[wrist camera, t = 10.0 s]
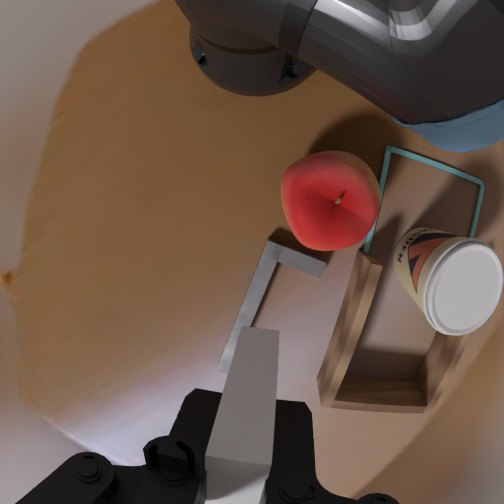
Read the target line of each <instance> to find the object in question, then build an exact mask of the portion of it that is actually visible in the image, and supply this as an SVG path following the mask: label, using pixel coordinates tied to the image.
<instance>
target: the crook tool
mask: <svg viewBox="0 0 504 504" xmlns="http://www.w3.org/2000/svg"><path fill="white" fill-rule="evenodd" d="M277 262H280V263H282V264H285V265H288V266H290V267H293V268H296V269H298V270H301V271H303V272H306V273H309V274H311V275H314V276H316V277H319V278H320V277H321V275H322V272H323V270H324V268H325V266H326V261H325V259H323V258H320V257H318V256H315V255H312V254H310V253H307V252H305V251H302V250H300V249H297V248H295V247H292V246H289V245H287V244H284V243H282V242H279V241H276V240H274V239H271V238H269V237H268V239H267V242H266V244H265V247H264V250H263V252H262V255H261V257H260V260H259V262H258V265H257V267H256V270H255V272H254V275H253V277H252V280H251V283H250V285H249V288H248V290H247V293H246V295H245V298H244V300H243V303H242V305H241V308H240V310H239V313H238V315H237V318H236V320H235V323H234V325H233V328H232V330H231V333H230V335H229V338H228V340H227V343H226V345H225V348H224V350H223V353H222V355H221V358H220V360H219V363H218V366H217V369H216V370H219V371H221V372H224V373H227V374H228V373H229V369H230V366H231V362H232V358H233V355H234V351H235V348H236V344H237V340H238V337H239V333H240V330H241V326H246V327H250V326H251V323H252V321H253V319H254V316H255V314H256V311H257V309H258V307H259V304H260V302H261V300H262V297H263V295H264V292H265V290H266V288H267V285H268V283H269V280H270V278H271V275H272V273H273V271H274V268H275V266H276V263H277Z"/></svg>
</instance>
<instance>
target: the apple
mask: <svg viewBox="0 0 504 504" xmlns="http://www.w3.org/2000/svg"><path fill="white" fill-rule="evenodd" d="M281 199H282V205H283V209H284V213H285V217H286V219H287V222H288V225H289V227H290V229H291V231H292V233H293V234H294V236H295V237H296V238H297V239H298V241H299V242H300V243H301V244H303V245H304V246H306V247H308V248H311V249H315V250H321V251H333V250H338V249H343V248H346V247H350V246H352V245H355V244H357V243H358V242H360V241H361V240H363V239H364V238H365V237H366V235H367V234H368V233H369V232H370V230H371V229H372V227H373V225H374V224H375V221H376V219H377V216H378V214H379V210H380V203H381V195H380V188H379V184H378V181H377V179H376V177H375V175H374V173H373V172H372V170H371V169H370V168H369V166H368V165H367V164H366V163H365V162H364V161H363V160H361V159H360V158H359V157H357V156H356V155H354V154H352V153H349V152H345V151H339V150H331V151H323V152H318V153H315V154H311V155H309V156H306V157H304V158H302V159H300V160H298V161H296V162H295V163H293V164H292V165H291V166H290V167H289V168H288V169H287V170H286V171H285V173H284V175H283V177H282V181H281Z"/></svg>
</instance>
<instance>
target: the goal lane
mask: <svg viewBox="0 0 504 504" xmlns="http://www.w3.org/2000/svg"><path fill="white" fill-rule="evenodd" d="M391 152H392V153H396V154H399V155H402V156H405V157H408V158H411V159H414V160H417V161H420V162H422V163H425V164H428V165H431V166H434V167H436V168H439V169H442V170H444V171H447V172H449V173H452V174H455V175H457V176H460V177H462V178H465V179H467V180H469V181H472V182H474V183H477V184H479V185H480V187H479V192H478V197H477V202H476V207H475V212H474V216H473V221H472V225H471V229H470V233H469V237H468V238H474V234H475V230H476V226H477V221H478V217H479V213H480V208H481V203H482V198H483V193H484V188H485V182H484V181H482V180H480V179H478V178H475V177H473V176H471V175H468V174H466V173H463V172H461V171H459V170H456V169H454V168H451V167H448V166H446V165H443V164H441V163H438V162H435V161H433V160H430V159H427V158H425V157H422V156H419V155H416V154H413V153H410V152H407V151H404V150H401V149H398V148H395V147H392V146H389V145H386V149H385V155H384V160H383V165H382V170H381V175H380V180H379V188H380V195H381V199H382V195H383V190H384V186H385V181H386V176H387V171H388V166H389V161H390V155H391ZM380 204H381V203H380ZM377 217H378V216H377ZM376 221H377V219H376ZM376 221H375V224H374V225H373V227H372V229H371V230H370V232H369V233H368V234H367V236H366V240H365V244H364V248H363V252H367V253H368V252H369V248H370V244H371V241H372V237H373V233H374V229H375V225H376Z"/></svg>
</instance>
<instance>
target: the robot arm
mask: <svg viewBox="0 0 504 504" xmlns="http://www.w3.org/2000/svg"><path fill="white" fill-rule="evenodd" d="M175 2H176V3H177V5H178V6H179V8H180V9H181V11H182V12H183V14H184V15H185V16H186V18H187V19H188V21H189V22H190V24H191V26H190V36H189V41H190V48H191V52H192V55H193V57H194V59H195V61H196V63H197V65H198V66H199V67H200V69H201V70H202V71H203V73H204V74H205V75H206V76H207V77H208V78H209V79H210V80H211V81H212V82H214V83H215V84H216V85H218V86H220V87H221V88H223V89H225V90H228V91H230V92H233V93H237V94H241V95H247V96H267V95H273V94H278V93H281V92H284V91H287V90H289V89H291V88H293V87H295V86H297V85H299V84H300V83H302V82H303V81H304V80H306V79H307V78H308V77H309V76H310V75H311V74H312V73H313V71H314V70H315V69H316V68H317V69H318V70H320V71H322V72H324V73H326V74H327V75H329V76H331V77H332V78H334V79H336V80H337V81H339V82H341V83H342V84H344V85H346V86H347V87H349V88H350V89H352V90H354V91H355V92H357V93H358V94H360V95H361V96H363V97H364V98H366V99H367V100H369V101H370V102H372V103H373V104H375V105H376V106H378V107H379V108H381V109H382V110H384V111H385V112H386V113H388V114H389V115H390V116H391V119H392V120H394V121H395V122H396V123H397V124H399V125H401V126H403V127H406V128H410V129H411V130H412V131H414V132H415V133H417V134H418V135H419V136H421V137H422V138H424V139H425V140H426V141H428V142H429V143H430V144H432V145H433V146H435V147H437V148H439V149H441V150H450V151H452V152H460V153H461V152H470V151H475V150H479V149H482V148H485V147H488V146H490V145H492V144H494V143H496V142H498V141H500V140H502V139H503V138H504V0H175ZM278 353H279V331H277V330H269V329H261V328H254V327H246V326H241V330H240V333H239V337H238V340H237V344H236V348H235V351H234V355H233V358H232V362H231V366H230V369H229V373H228V376H227V380H226V383H225V387H224V390H223V393H220V392H214V391H208V390H203V389H197V388H195V389H194V390H193V391H192V392H191V393H189V394H188V395H187V396H186V397H185V399H184V401H183V403H182V406H181V409H180V410H179V413H178V415H177V419H176V420H175V422H174V424H173V427H172V429H171V431H170V434H169V436H168V435H167V436H162V437H157V438H155V439H153V440H151V441H149V442H148V443H147V444H146V446H145V447H144V448H143V452H144V456H145V461H146V464H145V465H142V466H118V465H112V464H111V462H110V461H109V460H108V459H106V458H105V457H104V456H102V455H100V454H98V453H94V452H82V453H77V454H75V455H74V456H72V457H70V458H69V459H68V460H66V461H65V462H64V463H63V464H62V465H61V466H59V467H58V468H57V469H56V470H55V471H54V472H52V473H51V474H50V475H49V476H48V477H47V478H45V479H44V480H43V481H42V482H41V483H39V484H38V485H37V486H36V487H35V488H33V489H32V490H31V491H30V492H29V493H28V494H26V495H25V496H24V497H23V498H22V499H20V500H19V501H18V502H17V503H15V504H399V503H398V502H397V500H396V499H394V498H392V497H391V496H389V495H386V494H381V493H373V494H368V495H365V496H363V497H361V498H359V500H355V499H350V498H346V497H342V496H338V495H335V494H333V493H330V492H329V491H327V490H326V489H324V488H323V487H322V486H321V484H320V483H319V481H318V479H317V477H316V471H315V453H314V437H313V427H312V426H313V423H312V413H311V411H310V410H309V408H308V406H307V405H306V403H305V402H298V401H287V400H277V399H276V391H277V373H278Z"/></svg>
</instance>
